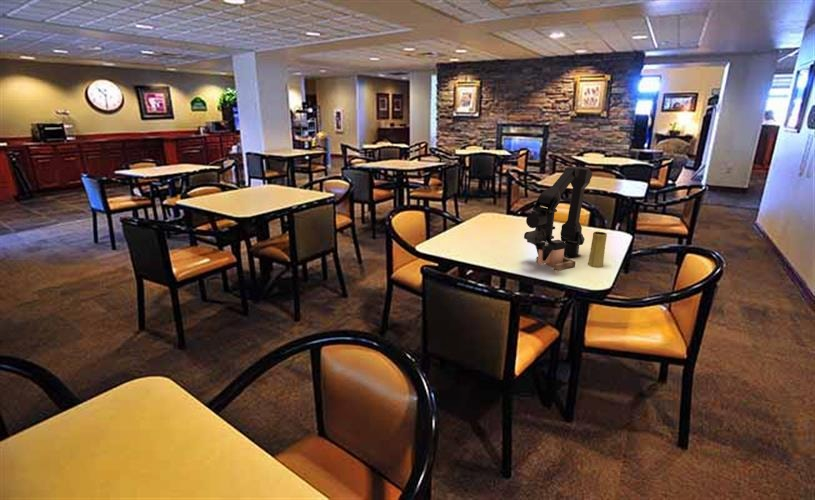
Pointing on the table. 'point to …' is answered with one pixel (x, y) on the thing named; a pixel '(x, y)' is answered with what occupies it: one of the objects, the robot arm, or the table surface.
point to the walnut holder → (563, 264)
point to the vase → (597, 249)
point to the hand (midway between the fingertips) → (542, 259)
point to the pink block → (551, 257)
